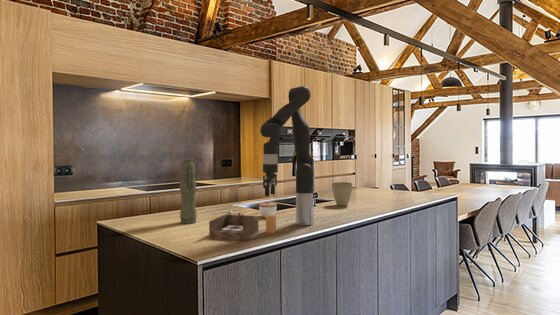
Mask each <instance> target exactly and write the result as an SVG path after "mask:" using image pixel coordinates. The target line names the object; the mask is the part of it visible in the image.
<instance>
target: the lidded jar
mask: <svg viewBox="0 0 560 315" xmlns="http://www.w3.org/2000/svg"><path fill="white" fill-rule="evenodd" d="M277 206H278V205H277V203H275V202H269V201H266V202H262V203H258V209H259V213H260V215H261V216H262V218H265V219H266V216H268V215H275V214H276V212H277Z"/></svg>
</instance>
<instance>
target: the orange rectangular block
mask: <svg viewBox="0 0 560 315" xmlns="http://www.w3.org/2000/svg"><path fill="white" fill-rule="evenodd" d="M275 231H276V232H277V215H275V214H274V215H268V216H266V218H265V233H268V234H271V233H272V234H275V233H276V232H275Z"/></svg>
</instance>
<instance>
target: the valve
mask: <svg viewBox="0 0 560 315" xmlns="http://www.w3.org/2000/svg"><path fill="white" fill-rule="evenodd" d="M225 214H229V215H234V211H233V210H226V211H225ZM237 215H244V214H243V213H237Z"/></svg>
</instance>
